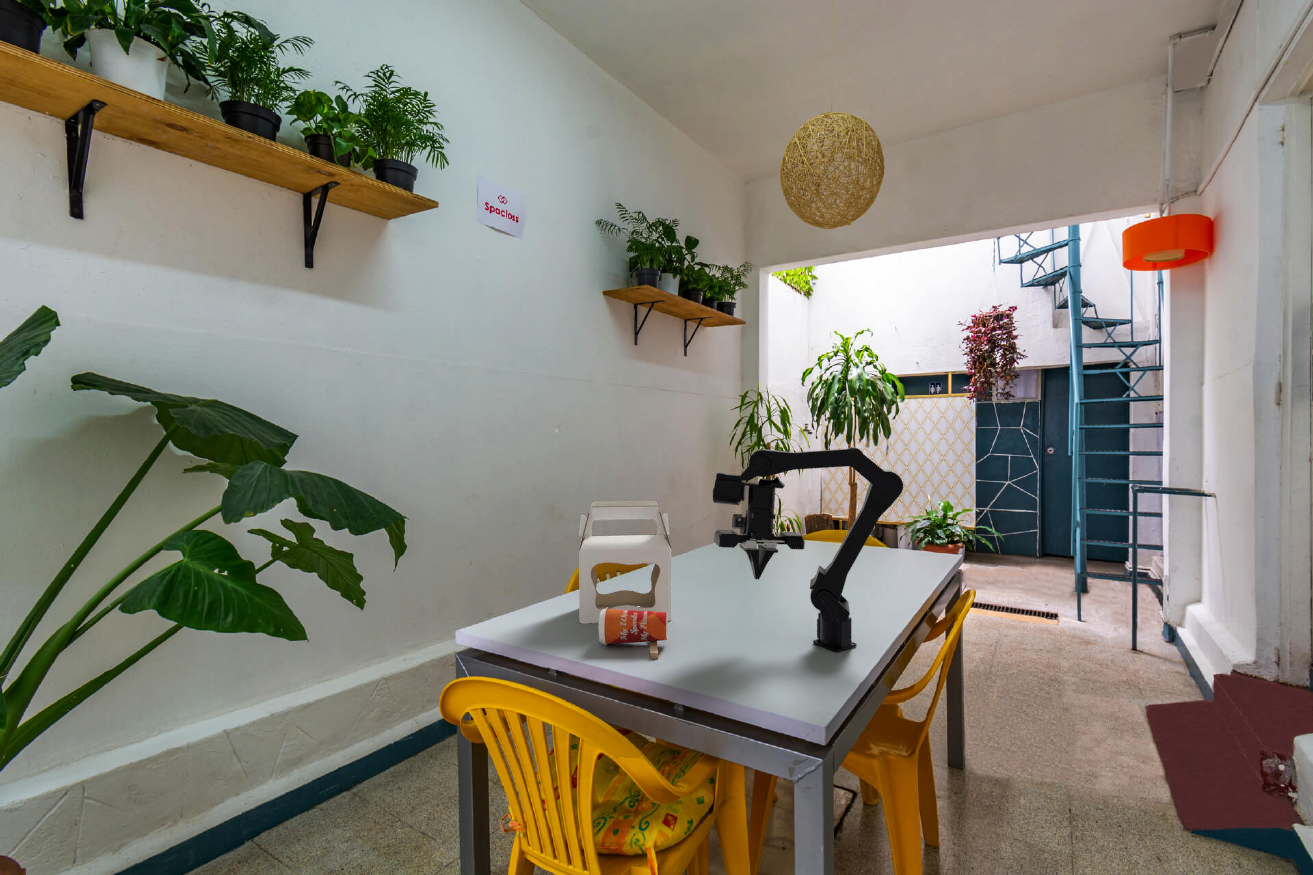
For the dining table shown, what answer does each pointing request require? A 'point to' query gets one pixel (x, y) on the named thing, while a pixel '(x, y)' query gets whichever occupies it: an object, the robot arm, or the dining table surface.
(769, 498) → the robot arm
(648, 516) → the gable box
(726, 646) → the dining table surface
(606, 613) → the paper cup
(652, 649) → the oak strip
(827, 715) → the dining table surface
